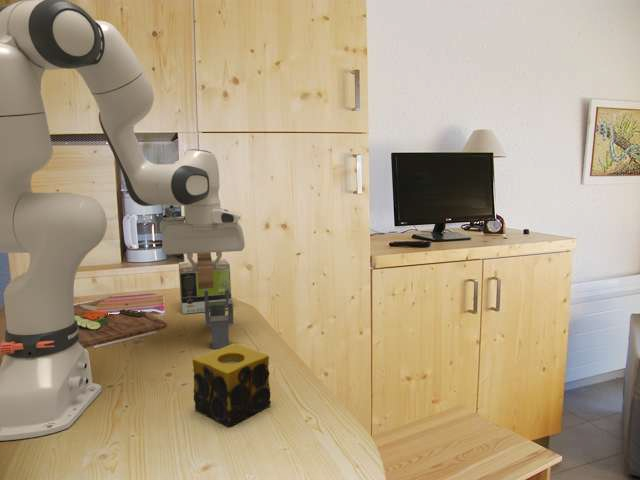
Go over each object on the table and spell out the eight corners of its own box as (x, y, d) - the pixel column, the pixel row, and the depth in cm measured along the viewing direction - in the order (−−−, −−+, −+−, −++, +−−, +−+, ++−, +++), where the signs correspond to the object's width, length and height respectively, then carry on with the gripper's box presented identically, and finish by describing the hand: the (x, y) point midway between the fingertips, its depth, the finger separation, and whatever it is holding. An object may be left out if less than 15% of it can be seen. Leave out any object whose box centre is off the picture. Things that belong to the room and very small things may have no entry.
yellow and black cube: (236, 390, 95) (234, 342, 94) (272, 406, 89) (271, 354, 88) (192, 410, 88) (190, 357, 86) (229, 429, 81) (227, 372, 80)
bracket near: (234, 347, 119) (232, 303, 117) (206, 349, 117) (204, 305, 116) (233, 341, 123) (231, 299, 121) (206, 344, 121) (204, 301, 119)
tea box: (227, 302, 160) (226, 258, 158) (232, 310, 150) (230, 263, 148) (180, 306, 155) (178, 260, 153) (181, 315, 146) (179, 266, 144)
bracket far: (230, 329, 132) (229, 290, 131) (205, 331, 131) (204, 291, 129) (229, 324, 136) (228, 286, 134) (205, 326, 134) (204, 288, 133)
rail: (213, 288, 115) (213, 267, 114) (198, 289, 114) (197, 268, 113) (211, 269, 134) (210, 251, 133) (198, 270, 133) (197, 252, 133)
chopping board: (21, 316, 147) (20, 306, 146) (111, 300, 165) (111, 291, 165) (70, 356, 115) (69, 344, 114) (175, 330, 133) (174, 320, 133)
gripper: (158, 218, 116) (161, 275, 118) (244, 215, 121) (246, 270, 123) (160, 215, 122) (163, 269, 124) (242, 213, 127) (243, 265, 129)
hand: (205, 269), depth 124 cm, fingers closed on rail, 3 cm apart
